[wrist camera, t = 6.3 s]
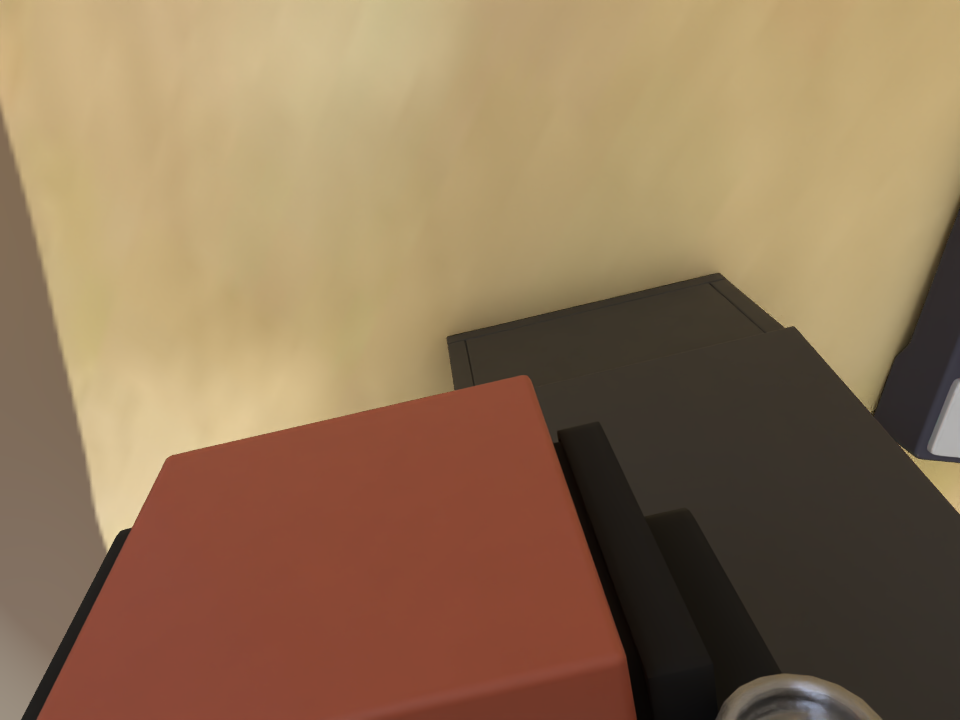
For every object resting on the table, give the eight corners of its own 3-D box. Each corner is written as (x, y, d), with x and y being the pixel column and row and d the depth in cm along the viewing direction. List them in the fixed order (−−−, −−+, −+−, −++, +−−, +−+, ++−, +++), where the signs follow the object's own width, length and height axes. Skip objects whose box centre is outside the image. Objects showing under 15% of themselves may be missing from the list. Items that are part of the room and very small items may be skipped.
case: (742, 543, 42) (802, 637, 35) (512, 597, 42) (532, 700, 35) (719, 272, 35) (788, 329, 29) (446, 336, 35) (456, 407, 29)
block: (164, 454, 9) (-11, 802, 5) (528, 370, 9) (628, 656, 5) (281, 708, 11) (217, 1105, 7) (583, 639, 11) (685, 999, 7)
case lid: (1170, 787, 15) (1183, 767, 15) (550, 933, 15) (544, 916, 15) (793, 343, 29) (794, 325, 28) (459, 421, 29) (455, 405, 28)
